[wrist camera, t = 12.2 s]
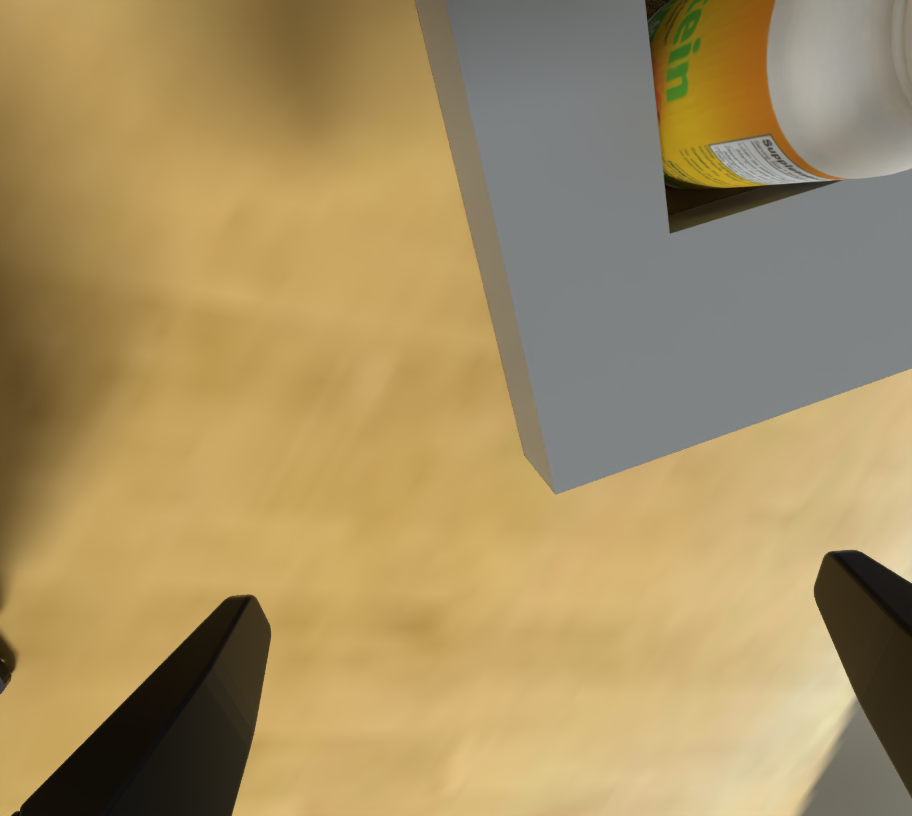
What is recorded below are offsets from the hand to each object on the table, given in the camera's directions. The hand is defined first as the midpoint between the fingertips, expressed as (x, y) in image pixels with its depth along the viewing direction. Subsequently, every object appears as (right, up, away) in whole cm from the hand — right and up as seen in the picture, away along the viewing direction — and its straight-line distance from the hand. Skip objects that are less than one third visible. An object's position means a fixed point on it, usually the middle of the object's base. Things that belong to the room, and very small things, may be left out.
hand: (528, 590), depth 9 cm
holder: (+7, +11, +9) cm, 16 cm away
